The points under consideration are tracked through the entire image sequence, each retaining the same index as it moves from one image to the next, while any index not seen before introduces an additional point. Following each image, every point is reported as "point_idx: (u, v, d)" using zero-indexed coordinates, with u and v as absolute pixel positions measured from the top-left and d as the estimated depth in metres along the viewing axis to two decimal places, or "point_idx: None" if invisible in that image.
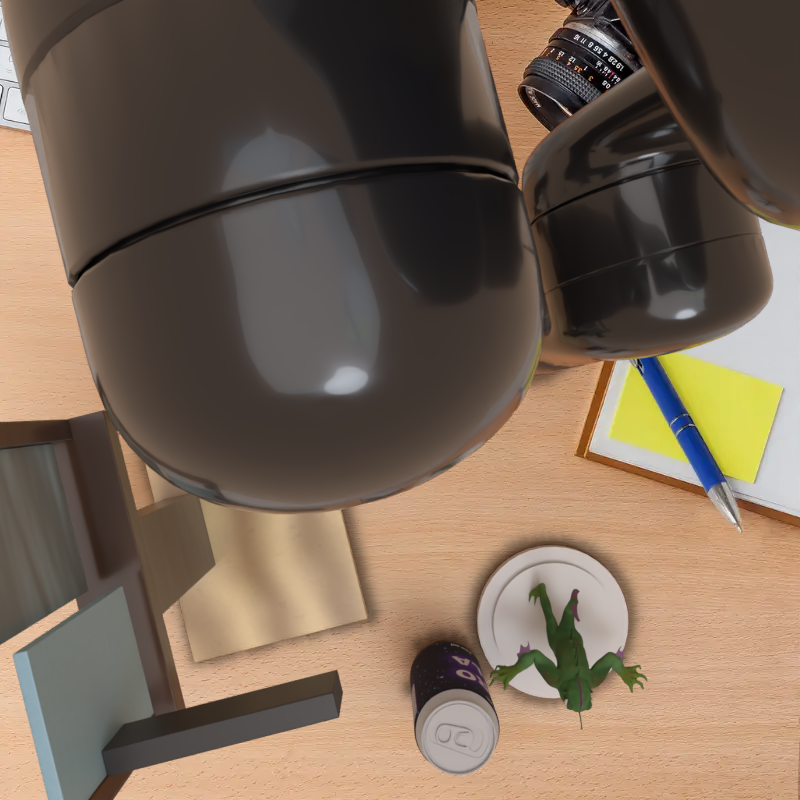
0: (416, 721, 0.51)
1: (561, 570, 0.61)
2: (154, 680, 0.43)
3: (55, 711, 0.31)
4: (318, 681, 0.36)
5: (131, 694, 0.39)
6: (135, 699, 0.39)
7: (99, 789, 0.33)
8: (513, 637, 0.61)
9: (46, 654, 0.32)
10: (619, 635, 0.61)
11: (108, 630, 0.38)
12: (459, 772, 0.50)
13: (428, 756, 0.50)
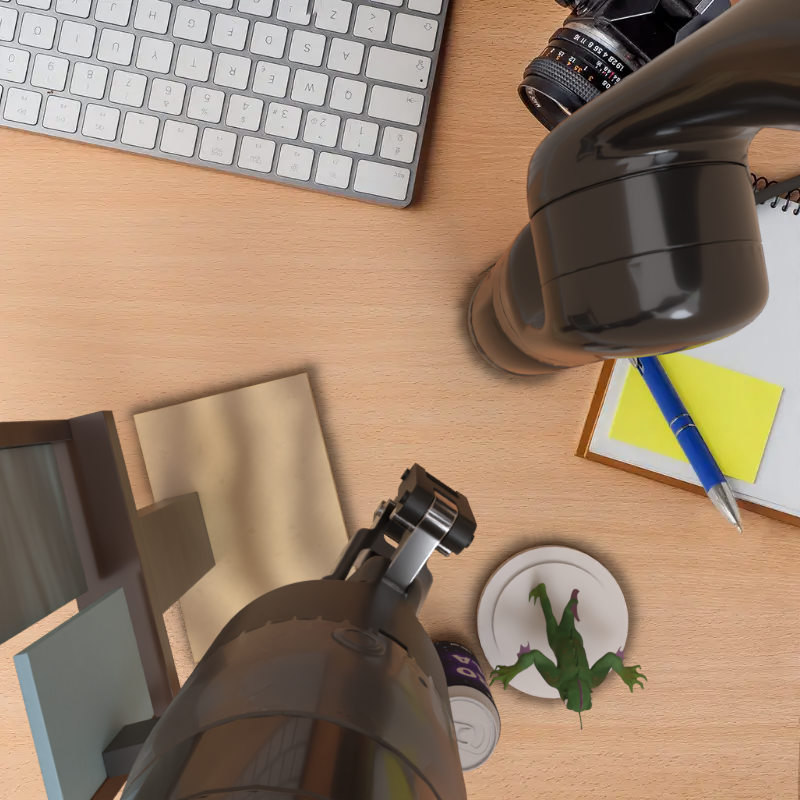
0: None
1: (561, 570, 0.61)
2: (154, 680, 0.43)
3: (56, 713, 0.31)
4: None
5: (131, 695, 0.39)
6: (136, 701, 0.39)
7: (99, 791, 0.33)
8: (513, 637, 0.61)
9: (47, 656, 0.32)
10: (619, 635, 0.61)
11: (108, 632, 0.38)
12: None
13: None
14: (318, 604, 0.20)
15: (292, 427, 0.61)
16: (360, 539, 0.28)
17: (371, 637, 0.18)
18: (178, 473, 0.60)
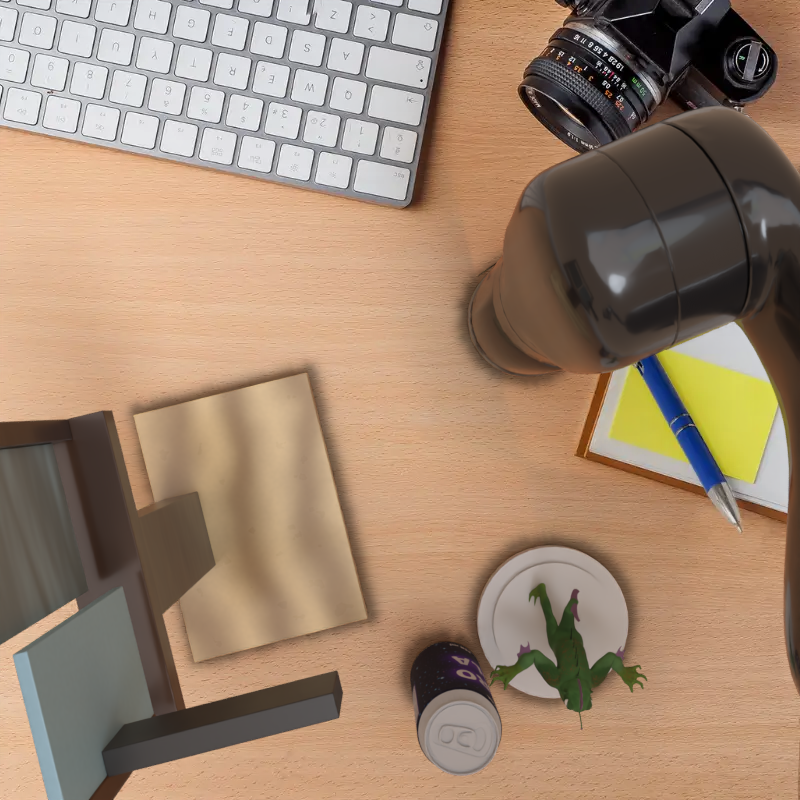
0: (418, 723, 0.51)
1: (561, 570, 0.61)
2: (154, 680, 0.43)
3: (56, 712, 0.31)
4: (318, 682, 0.36)
5: (131, 694, 0.39)
6: (136, 700, 0.39)
7: (99, 789, 0.33)
8: (513, 637, 0.61)
9: (47, 654, 0.32)
10: (619, 635, 0.61)
11: (108, 630, 0.38)
12: (463, 772, 0.50)
13: (432, 758, 0.50)
14: None
15: (292, 427, 0.61)
16: None
17: None
18: (178, 473, 0.60)
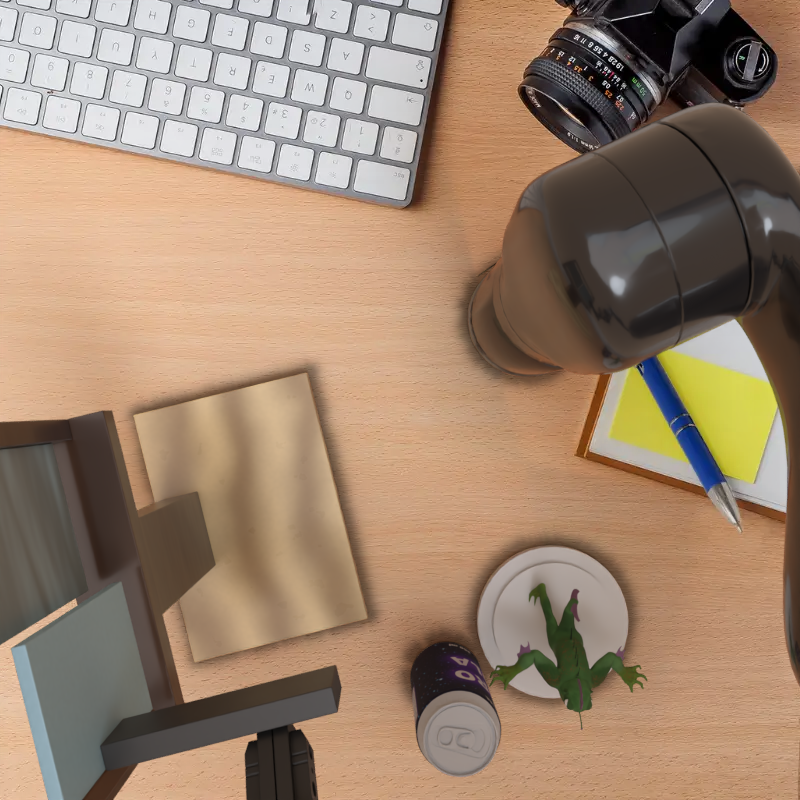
0: (417, 725, 0.51)
1: (561, 570, 0.61)
2: (154, 680, 0.43)
3: (54, 705, 0.31)
4: (317, 676, 0.36)
5: (130, 689, 0.39)
6: (134, 695, 0.39)
7: (98, 783, 0.33)
8: (513, 637, 0.61)
9: (45, 648, 0.32)
10: (619, 635, 0.61)
11: (107, 625, 0.38)
12: (463, 773, 0.50)
13: (431, 760, 0.50)
14: None
15: (292, 427, 0.61)
16: None
17: None
18: (178, 473, 0.60)
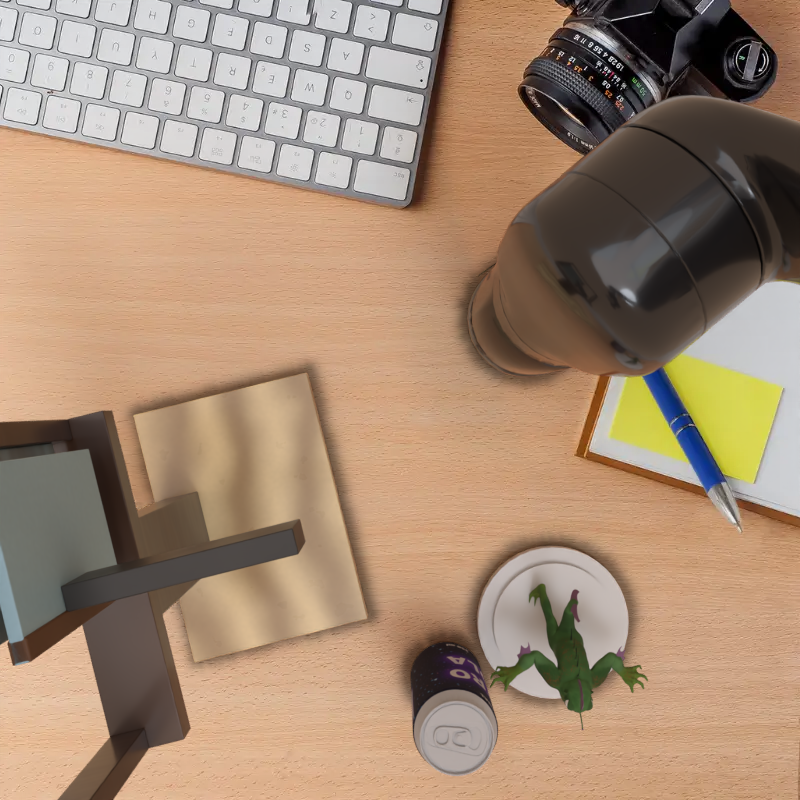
0: (413, 727, 0.51)
1: (561, 570, 0.61)
2: (154, 680, 0.43)
3: (11, 531, 0.31)
4: (280, 526, 0.36)
5: (95, 549, 0.39)
6: (100, 556, 0.39)
7: (57, 619, 0.33)
8: (513, 638, 0.61)
9: (3, 476, 0.32)
10: (619, 635, 0.61)
11: (71, 482, 0.38)
12: (462, 772, 0.50)
13: (429, 760, 0.50)
14: None
15: (292, 427, 0.61)
16: None
17: None
18: (178, 473, 0.60)
